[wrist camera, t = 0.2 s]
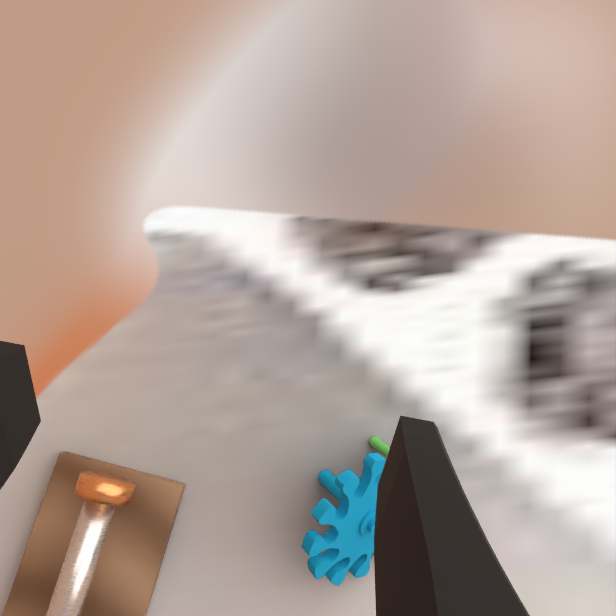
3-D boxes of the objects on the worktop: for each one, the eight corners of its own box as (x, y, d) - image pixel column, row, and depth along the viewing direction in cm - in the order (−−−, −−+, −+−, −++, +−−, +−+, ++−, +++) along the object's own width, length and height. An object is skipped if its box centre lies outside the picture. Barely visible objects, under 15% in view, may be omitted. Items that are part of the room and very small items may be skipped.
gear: (343, 614, 37) (293, 546, 31) (295, 555, 41) (243, 485, 35) (451, 502, 40) (424, 421, 34) (396, 458, 45) (364, 380, 39)
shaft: (74, 690, 34) (52, 722, 31) (20, 676, 34) (-9, 706, 31) (141, 482, 37) (127, 489, 33) (90, 468, 37) (71, 474, 33)
